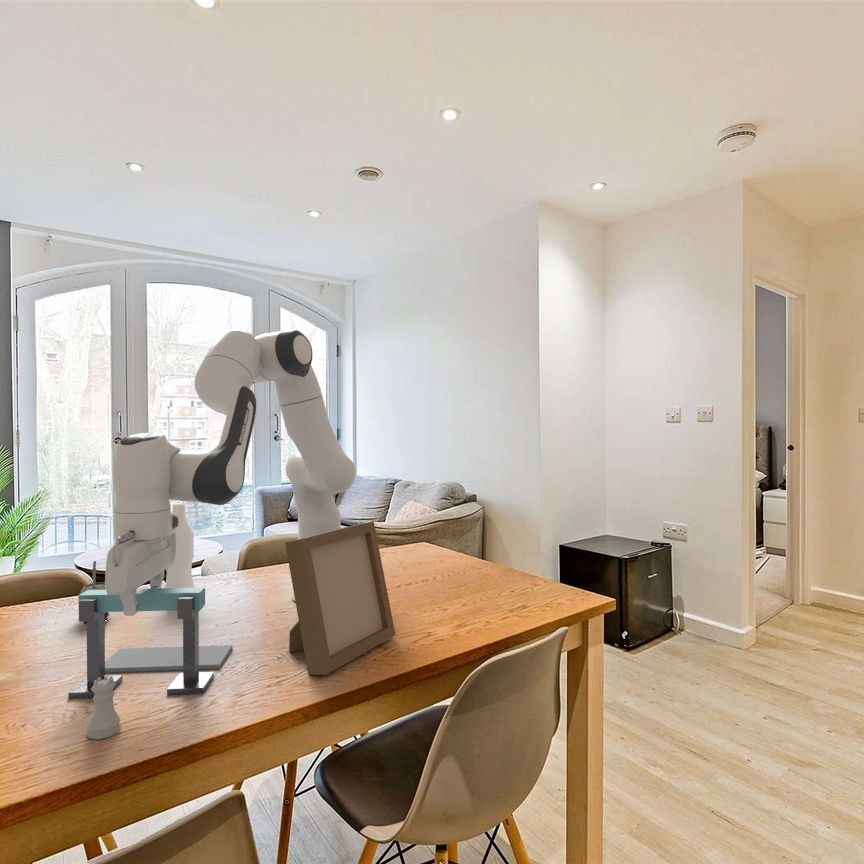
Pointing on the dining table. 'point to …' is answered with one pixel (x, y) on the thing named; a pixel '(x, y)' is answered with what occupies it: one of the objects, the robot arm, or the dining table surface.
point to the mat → (164, 658)
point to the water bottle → (181, 553)
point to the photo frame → (338, 596)
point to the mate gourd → (94, 585)
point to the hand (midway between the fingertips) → (143, 604)
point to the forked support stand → (183, 683)
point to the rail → (147, 599)
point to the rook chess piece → (103, 710)
